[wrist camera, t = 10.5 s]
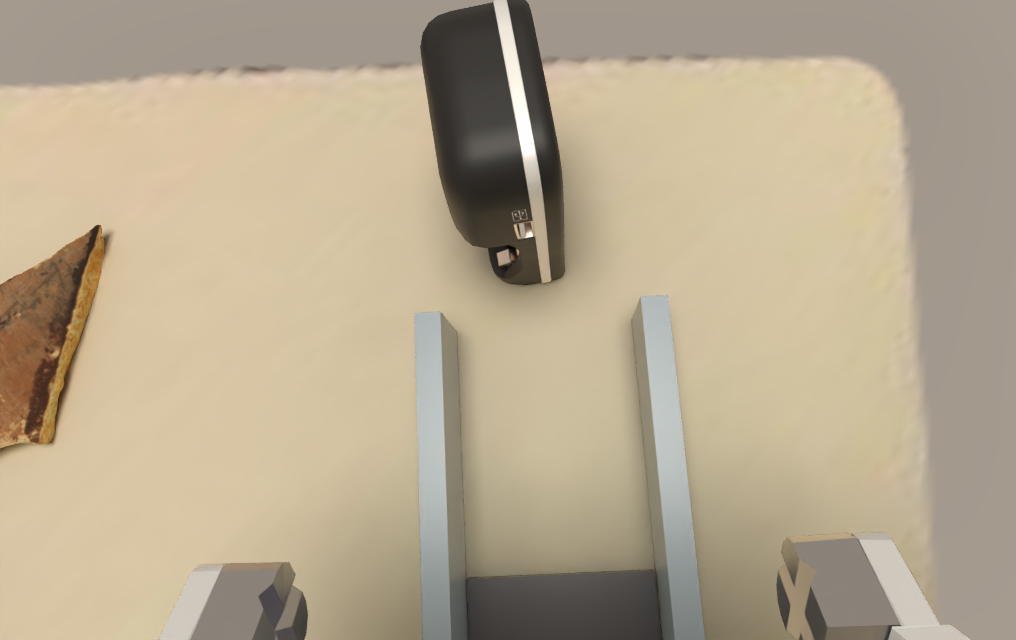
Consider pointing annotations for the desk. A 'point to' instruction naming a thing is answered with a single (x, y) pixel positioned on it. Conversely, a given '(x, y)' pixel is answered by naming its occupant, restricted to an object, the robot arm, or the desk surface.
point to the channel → (567, 596)
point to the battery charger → (496, 137)
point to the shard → (43, 336)
